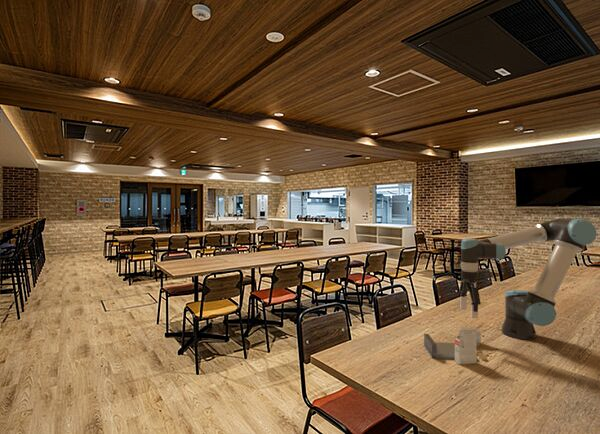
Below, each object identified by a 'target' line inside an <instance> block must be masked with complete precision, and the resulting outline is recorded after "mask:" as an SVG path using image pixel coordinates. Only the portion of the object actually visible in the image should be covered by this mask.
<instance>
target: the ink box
mask: <svg viewBox="0 0 600 434" xmlns="http://www.w3.org/2000/svg"><path fill="white" fill-rule="evenodd" d="M465 332H471V333H470V334H464V333H465ZM459 335H460V339H458V338H454V343H455V359H454V362H456V363H457V364H458V365H472V364H477V355H476V350H477V346H476V330H461V331H459V330H458V336H459Z"/></svg>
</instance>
